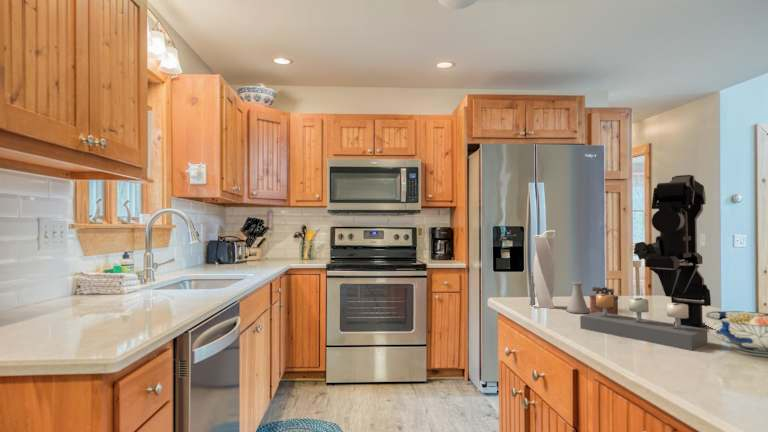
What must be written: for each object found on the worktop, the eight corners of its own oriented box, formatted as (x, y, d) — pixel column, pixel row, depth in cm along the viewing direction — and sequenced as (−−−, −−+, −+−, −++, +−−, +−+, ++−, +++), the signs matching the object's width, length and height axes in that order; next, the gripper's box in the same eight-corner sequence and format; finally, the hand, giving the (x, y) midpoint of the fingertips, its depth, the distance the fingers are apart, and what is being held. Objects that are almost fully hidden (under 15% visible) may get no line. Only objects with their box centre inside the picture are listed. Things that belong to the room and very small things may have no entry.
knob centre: (634, 321, 115) (633, 296, 115) (651, 324, 111) (651, 298, 112) (626, 323, 112) (626, 298, 113) (644, 326, 109) (643, 300, 109)
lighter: (619, 319, 131) (618, 287, 131) (618, 321, 128) (617, 288, 128) (590, 316, 135) (589, 285, 135) (589, 318, 132) (588, 286, 132)
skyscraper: (553, 305, 156) (551, 230, 156) (560, 310, 148) (558, 230, 148) (529, 305, 156) (528, 230, 157) (535, 309, 148) (534, 230, 149)
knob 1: (601, 315, 122) (600, 292, 123) (616, 318, 119) (616, 294, 119) (593, 317, 120) (592, 294, 120) (609, 320, 116) (608, 296, 116)
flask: (592, 314, 138) (591, 284, 139) (568, 313, 140) (568, 283, 140) (586, 310, 146) (585, 281, 146) (563, 309, 147) (563, 280, 147)
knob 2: (671, 327, 108) (671, 301, 108) (691, 331, 104) (691, 303, 104) (664, 330, 105) (663, 303, 105) (684, 333, 102) (684, 305, 102)
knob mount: (598, 323, 126) (598, 311, 126) (707, 343, 104) (707, 329, 104) (580, 328, 120) (580, 315, 120) (691, 350, 98) (691, 335, 98)
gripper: (654, 231, 117) (656, 287, 117) (621, 232, 107) (623, 294, 106) (702, 231, 108) (704, 292, 108) (671, 233, 97) (673, 300, 97)
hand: (675, 294), depth 105 cm, fingers open, 8 cm apart
